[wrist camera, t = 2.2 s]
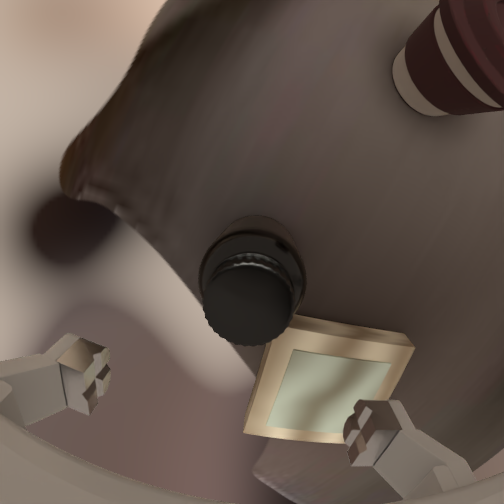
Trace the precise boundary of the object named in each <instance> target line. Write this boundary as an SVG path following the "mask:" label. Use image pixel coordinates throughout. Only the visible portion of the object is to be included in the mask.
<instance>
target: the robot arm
mask: <svg viewBox="0 0 504 504" xmlns="http://www.w3.org/2000/svg"><path fill="white" fill-rule="evenodd" d="M109 359H110V350H109V349H108V348H107V347H104V346H102V345H99V344H96V343H94V342H92V341H89V340H87V339H84V338H81V337H79V336H76V335H74V334H71V333H67V334H65V336H63V337H62V338H61V339H60V340H59V341H58V342H57V343H55V344H54V345H53V346H52V347H51V348H50V349H49V350H48V351H47V352H45V353H44V354H43V355H41V354H35V355H30V356H26V357H20V358H15V359H11V360H5V361H0V504H235V503H228V502H222V501H216V500H210V499H205V498H200V497H195V496H191V495H186V494H182V493H178V492H174V491H170V490H166V489H162V488H159V487H155V486H152V485H149V484H145V483H142V482H139V481H136V480H133V479H130V478H127V477H124V476H122V475H119V474H116V473H113V472H111V471H108V470H106V469H103V468H101V467H98V466H96V465H93V464H91V463H89V462H86V461H84V460H82V459H80V458H78V457H75V456H73V455H71V454H69V453H67V452H65V451H63V450H61V449H59V448H57V447H55V446H53V445H51V444H49V443H48V442H46V441H44V440H42V439H40V438H38V437H37V436H35V435H33V434H31V433H30V432H28V431H27V429H26V426H28V425H30V424H32V423H34V422H37V421H39V420H41V419H44V418H46V417H48V416H50V415H52V414H55V413H57V412H59V411H61V410H63V409H66V408H67V407H69V408H72V409H74V410H76V411H79V412H81V413H84V414H87V415H89V416H90V415H91V413H92V412H93V410H94V408H95V407H96V406H97V404H98V399H97V397H99V396H102V395H104V393H105V392H106V390H107V388H108V385H109V382H110V374H111V373H110V368H109V367H108V365H107V362H108V361H109ZM353 409H354V412H355V413H353V414H352V415H350V416H349V417H348V418H347V420H346V422H345V424H344V428H343V439H344V443H346V444H347V445H348V446H349V447H350V448H349V449H348V451H347V454H348V458H349V461H350V465H351V466H373V468H374V469H375V470H376V471H377V472H378V473H379V474H380V475H381V476H382V477H383V478H384V479H385V480H386V481H387V482H388V483H389V484H390V485H391V486H392V487H393V489H394V490H395V491H396V492H397V493H398V494H399V495H400V496H401V497H402V498H403V500H402V501H398V502H392V503H385V504H504V472H502V473H499V474H497V475H494V476H492V477H489V478H486V479H483V480H481V481H477V480H476V478H475V476H474V474H473V472H472V471H471V469H470V467H469V465H468V464H467V462H466V460H465V459H463V458H462V457H460V456H459V455H457V454H456V453H454V452H452V451H451V450H449V449H448V448H446V447H445V446H443V445H442V444H440V443H439V442H437V441H436V440H434V439H433V438H431V437H430V436H428V435H427V434H425V433H424V432H422V431H421V430H419V429H418V430H416V429H415V427H414V425H413V424H412V422H411V420H410V418H409V416H408V414H407V413H406V411H405V409H404V407H403V405H402V403H401V402H400V401H398V400H366V399H359V400H358V401H357V402H356V404H355V405H354V407H353Z"/></svg>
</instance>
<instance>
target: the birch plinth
mask: <svg viewBox="0 0 504 504" xmlns="http://www.w3.org/2000/svg"><path fill="white" fill-rule="evenodd" d="M414 349H415V347H414V345H413V344H412V343H411V342H410V340H409V339H408V338H407V337H406V335H405V334H404V333H398V332H391V331H385V330H379V329H373V328H367V327H361V326H355V325H349V324H343V323H338V322H332V321H327V320H321V319H316V318H311V317H306V316H301V315H296V314H294V315H293V319H292V320H291V321H290V324H289V327H287V328H286V329H285V331H284V333H282V334H280V335H279V337H278V338H276V339H273V340H272V341H271V342H269V343H266V347H265V350H264V354H263V357H262V361H261V364H260V367H259V371H258V374H257V377H256V381H255V384H254V388H253V390H252V394H251V397H250V400H249V403H248V406H247V410H246V413H245V420H244V429H243V433H248V434H253V435H259V436H267V437H273V438H281V439H289V440H299V441H310V442H324V443H344V439H343V428H344V424H345V422H346V420H347V418H348V417H349V416H350V415H352V414H353V413H355V412H354V409H353V407H354V405H355V404H356V402H357V401H358V400H359V399H366V400H388V399H389V397H390V396H391V394H392V392H393V390H394V388H395V386H396V385H397V383H398V381H399V379H400V377H401V375H402V373H403V371H404V369H405V367H406V365H407V363H408V361H409V359H410V357H411V355H412V353H413V351H414ZM344 444H346V443H344Z"/></svg>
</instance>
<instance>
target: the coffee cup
mask: <svg viewBox="0 0 504 504" xmlns="http://www.w3.org/2000/svg"><path fill="white" fill-rule="evenodd" d="M392 73H393V79H394V82H395V86H396V88H397V90H398V92H399V93H400V95H401V96H402V98H403V99H404V100H405V101H406V103H407V104H408V105H410V106H411V107H412V108H413V109H415V110H416V111H418V112H420V113H422V114H424V115H428V116H442V115H448V114H452V115H465V114H474V113H483V112H493V111H502V110H504V0H440V1H439V5H438V6H436V7H435V8H434V9H433V11H432V12H431V13H430V14H429V15H428V16H427V17H426V19H425V20H424V21H423V22H422V23H421V24H420V26H419V27H418V28H417V29H416V30H415V31H414V32H413V34H412V35H411V36H410V37H409V39H408V41H407V43H406V46H405V47H404V48H403V49H402V50H401V51H400V52H399V54H398V55H397V56H396V58H395V60H394V63H393V72H392Z"/></svg>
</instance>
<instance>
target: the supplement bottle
mask: <svg viewBox="0 0 504 504" xmlns="http://www.w3.org/2000/svg"><path fill="white" fill-rule="evenodd" d="M306 284H307V278H306V271H305V266H304V263H303V260H302V258H301V256H300V254H299V251H298V249H297V247H296V245H295V243H294V240H293V238H292V237H291V235H290V233H289V232H288V230H287V229H286V228H285V227H284V226H283V225H282V224H280V223H279V222H277V221H276V220H274V219H272V218H269V217H265V216H259V215H254V216H247V217H243V218H241V219H239V220H237V221H235V222H233V223H232V224H231V225H230V226H228V227H227V228H226V229H225V230H224V232H223V233H222V234H221V235H220V236H219V237H218V238H217V239H216V241H215V242H214V243H213V244H212V245H211V246H210V248H209V249H208V250H207V252H206V254H205V255H204V257H203V259H202V262H201V265H200V268H199V273H198V286H199V292H200V295H201V298H202V302H203V305H204V306H203V311H204V312H205V318H206V319H207V320H208V324H209V325H210V326H211V327H212V328H213V330H214V332H216V333H218V334H219V336H220V337H222V338H224V339H226V340H227V341H228V342H233V343H234V344H236V345H243V346H256V345H263V344H265V343H269V342H271V341H272V340H273V339H276V338H278V337H279V335H280V334H282V333H284V331H285V329H286V328H287V327H289V324H290V321H291V320H292V319H293V315H294V314H295V312H296V311H297V310H298V308H299V307H300V305H301V303H302V301H303V298H304V295H305V291H306Z"/></svg>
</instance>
